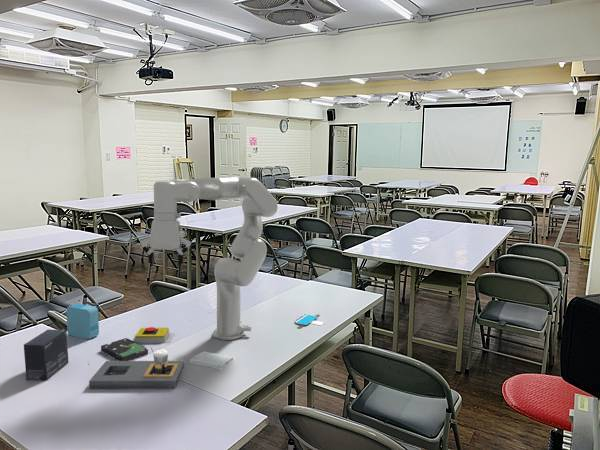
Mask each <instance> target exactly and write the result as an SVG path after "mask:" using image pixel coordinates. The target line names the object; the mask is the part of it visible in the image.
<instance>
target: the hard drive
mask: <svg viewBox="0 0 600 450" xmlns="http://www.w3.org/2000/svg"><path fill="white" fill-rule="evenodd" d="M232 361H234V357H230V356H225V355H222V354H217V353H212V352H207V351H202V352H200V353H199V354H197V355H195V356H194V357H192V358H191V359H190V360H189V362H190V363H191V364H195V365H199V366H204V367H208V368H213V369H218V370H222V369H223V368H225V367H226V366H228V364H230V363H231V362H232Z"/></svg>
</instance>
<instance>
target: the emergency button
mask: <svg viewBox="0 0 600 450" xmlns="http://www.w3.org/2000/svg"><path fill="white" fill-rule="evenodd" d="M169 329H170V328H169V327H154V326H150V327H140V328H139V330H138V331H137V333H136V334H135V336H134V337H133V338H132V339H131V340H132V341H134V342H136V343H138V344H154V343H155V344H160V343H161V344H162V343H163V344H164V343H165V344H166V343H167V344H169V343H171V342H172V340H173V339H174V337H175V333H174V332H173V333H172V332H171V333H170V330H169Z"/></svg>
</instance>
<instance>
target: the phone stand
mask: <svg viewBox="0 0 600 450" xmlns="http://www.w3.org/2000/svg"><path fill="white" fill-rule="evenodd" d="M306 314H307V313H305V314H303V315H304V316H303V315H302V316H300V317H299V319H298V318H297V319H295V320H296V321H295V320H294V324H297V325H298V326H297V327H296V328H297V329H301V328H303V327H305V326H307V325H308V324H309V325H310V324H311V325H315V326H321V327H322V326H323V325H324V324H325V322H324V321H323V322H322V321H318V320H316V319H317V318H318V317H319V316H320V314H316V315H312V314H307V315H306Z"/></svg>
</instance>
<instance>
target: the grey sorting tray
mask: <svg viewBox="0 0 600 450" xmlns="http://www.w3.org/2000/svg"><path fill="white" fill-rule="evenodd" d="M185 367H186V366H185V360H168V361H167V375H156V371H155V363H154V360H130V361H118V360H106V361H105V362H104V363H103V364H102V365H101V366H100V368H99V369H98V370H96V372H95V374H94V375H93V376H92V377H91V378H90V379H89V381H88V387H89V390H98V389H99V390H100V389H101V390H103V389H104V390H109V389H110V390H111V389H114V390H115V389H116V390H117V389H119V390H120V389H121V390H122V389H126V390H127V389H129V390H130V389H131V390H132V389H135V390H136V389H138V390H141V389H142V390H143V389H150V390H151V389H177V386H178V383H179V382H180V379H181V377H182V374H183V373H184V371H185ZM111 374H114V375H111ZM116 374H117V375H116ZM119 374H120V375H119ZM122 374H123V375H122Z"/></svg>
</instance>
